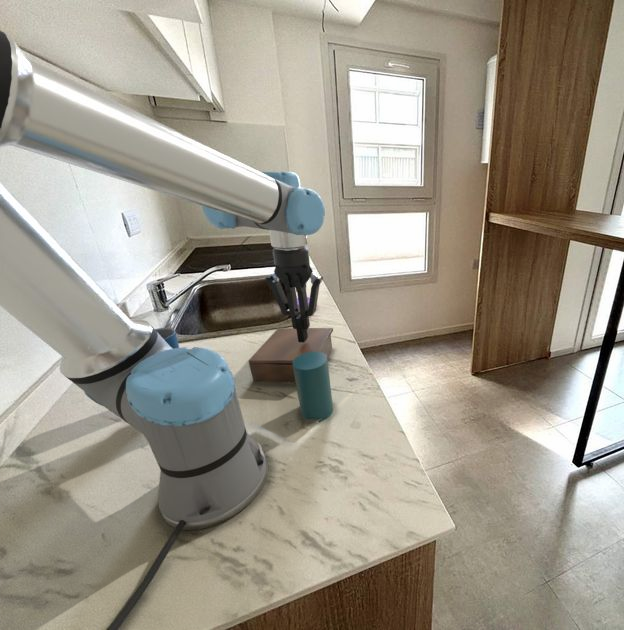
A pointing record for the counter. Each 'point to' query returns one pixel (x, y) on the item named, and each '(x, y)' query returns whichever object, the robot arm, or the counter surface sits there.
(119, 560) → the counter surface
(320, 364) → the can
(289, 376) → the chest
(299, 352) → the lid
